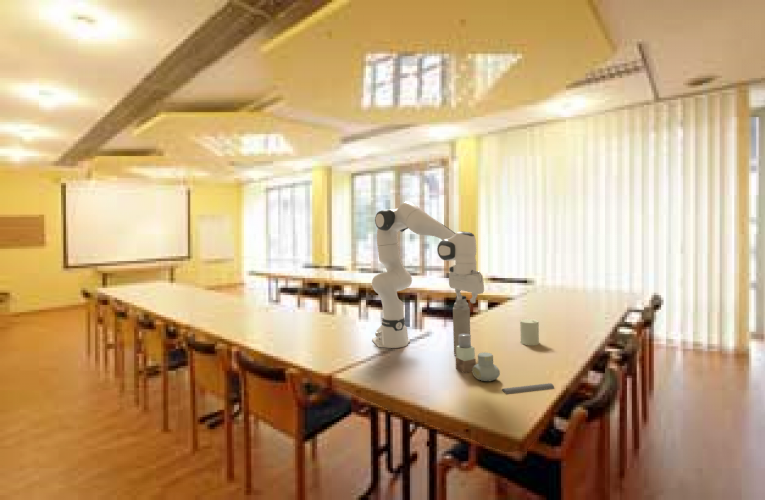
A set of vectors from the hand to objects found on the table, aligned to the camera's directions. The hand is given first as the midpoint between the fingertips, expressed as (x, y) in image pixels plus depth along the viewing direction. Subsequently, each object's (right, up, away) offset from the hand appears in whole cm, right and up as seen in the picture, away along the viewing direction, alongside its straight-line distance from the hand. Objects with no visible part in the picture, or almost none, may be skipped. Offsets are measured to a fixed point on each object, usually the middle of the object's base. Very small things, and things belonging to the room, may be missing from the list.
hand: (466, 301), depth 178 cm
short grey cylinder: (-1, -19, -2) cm, 19 cm away
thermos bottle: (+2, -28, +20) cm, 35 cm away
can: (+40, -26, +34) cm, 59 cm away
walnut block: (0, -29, -1) cm, 29 cm away
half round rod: (+18, -31, -25) cm, 43 cm away
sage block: (-1, -24, -2) cm, 24 cm away
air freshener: (+5, -30, -13) cm, 33 cm away
